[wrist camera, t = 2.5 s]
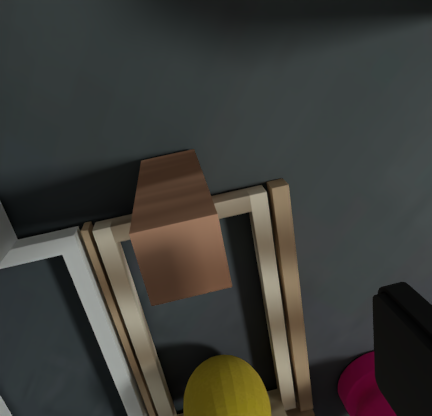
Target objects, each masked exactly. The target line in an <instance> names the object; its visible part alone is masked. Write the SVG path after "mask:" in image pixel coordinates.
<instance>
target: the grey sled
mask: <svg viewBox="0 0 432 416" xmlns="http://www.w3.org/2000/svg"><path fill="white" fill-rule="evenodd" d="M59 255H63V258H64V260H65V263H66V265H67V267H68V270H69V272H70V275H71V277H72V280H73V282H74V285H75V287H76V290H77V292H78V294H79V297H80V299H81V302H82V304H83V307H84V309H85V312H86V314H87V316H88V319H89V321H90V324H91V326H92V329H93V331H94V334H95V336H96V339H97V341H98V343H99V346H100V348H101V351H102V353H103V356H104V358H105V361H106V363H107V365H108V368H109V370H110V373H111V375H112V378H113V380H114V383H115V385H116V388H117V390H118V392H119V395H120V397H121V400H122V402H123V405H124V407H125V410H126V412H127V414H128V416H149V413H148V411H147V408H146V405H145V403H144V400H143V397H142V395H141V392H140V389H139V387H138V384H137V381H136V379H135V376H134V373H133V371H132V368H131V365H130V363H129V360H128V357H127V355H126V352H125V349H124V347H123V344H122V341H121V339H120V336H119V333H118V330H117V328H116V325H115V322H114V320H113V317H112V314H111V312H110V309H109V306H108V304H107V301H106V298H105V296H104V293H103V290H102V288H101V285H100V282H99V280H98V277H97V274H96V272H95V269H94V266H93V264H92V261H91V258H90V256H89V253H88V250H87V248H86V245H85V242H84V240H83V237H82V234H81V232H80V229H79V226H76V227H72V228H67V229H63V230H58V231H54V232H49V233H45V234H41V235H36V236H32V237H27V238H23V239H17V236H16V234H15V232H14V230H13V228H12V225H11V223H10V221H9V219H8V217H7V214H6V212H5V210H4V208H3V206H2V203H1V201H0V269H2V268H6V267H11V266H15V265H20V264H24V263H28V262H33V261H37V260H41V259H46V258H50V257H55V256H59ZM0 416H12V415H11V413H10V411H9V409H8V408H7V406H6V404H5V403H4V401H3V399H2V398H1V396H0Z"/></svg>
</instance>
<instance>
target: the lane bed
mask: <svg viewBox="0 0 432 416" xmlns="http://www.w3.org/2000/svg"><path fill="white" fill-rule="evenodd" d="M267 189H268V197H269V204H270V212H271V219H272V226H273V234H274V241H275V249H276V256H277V263H278V271H279V278H280V286H281V293H282V300H283V308H284V315H285V322H286V330H287V337H288V345H289V352H290V359H291V367H292V374H293V382H294V389H295V396H296V400H297V402H295V403H296V408H293V409H289V410H285V411H286V414H287V416H315V414H314V412H313V402H312V393H311V384H310V374H309V365H308V356H307V347H306V338H305V329H304V320H303V311H302V302H301V292H300V283H299V274H298V265H297V256H296V247H295V238H294V229H293V220H292V211H291V201H290V192H289V185H288V184H287V183H286V181H285V180H284V179H283V178H282V179H277V180H273V181H268V182H267ZM92 230H93V225H92V222H91V221H90V222H85V223H84V225H83V227H82V230H81V234H82V237H83V239H84V242H85V245H86V248H87V250H88V253H89V256H90V258H91V261H92V264H93V266H94V269H95V272H96V274H97V277H98V280H99V282H100V285H101V288H102V290H103V293H104V296H105V298H106V301H107V304H108V306H109V309H110V312H111V314H112V317H113V320H114V322H115V325H116V328H117V330H118V333H119V336H120V338H121V341H122V344H123V346H124V349H125V352H126V354H127V357H128V360H129V363H130V365H131V368H132V371H133V373H134V376H135V379H136V381H137V384H138V387H139V389H140V392H141V395H142V397H143V400H144V403H145V405H146V408H147V411H148V413H149V416H158V413H157V410H156V408H155V405H154V402H153V399H152V396H151V394H150V391H149V388H148V385H147V383H146V380H145V377H144V374H143V371H142V369H141V366H140V363H139V360H138V357H137V355H136V352H135V349H134V346H133V344H132V341H131V338H130V335H129V332H128V330H127V327H126V324H125V321H124V319H123V316H122V313H121V310H120V307H119V305H118V302H117V299H116V296H115V293H114V291H113V288H112V285H111V282H110V280H109V277H108V274H107V271H106V268H105V266H104V263H103V260H102V257H101V255H100V252H99V249H98V246H97V243H96V241H95V238H94V235H93V232H92Z"/></svg>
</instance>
